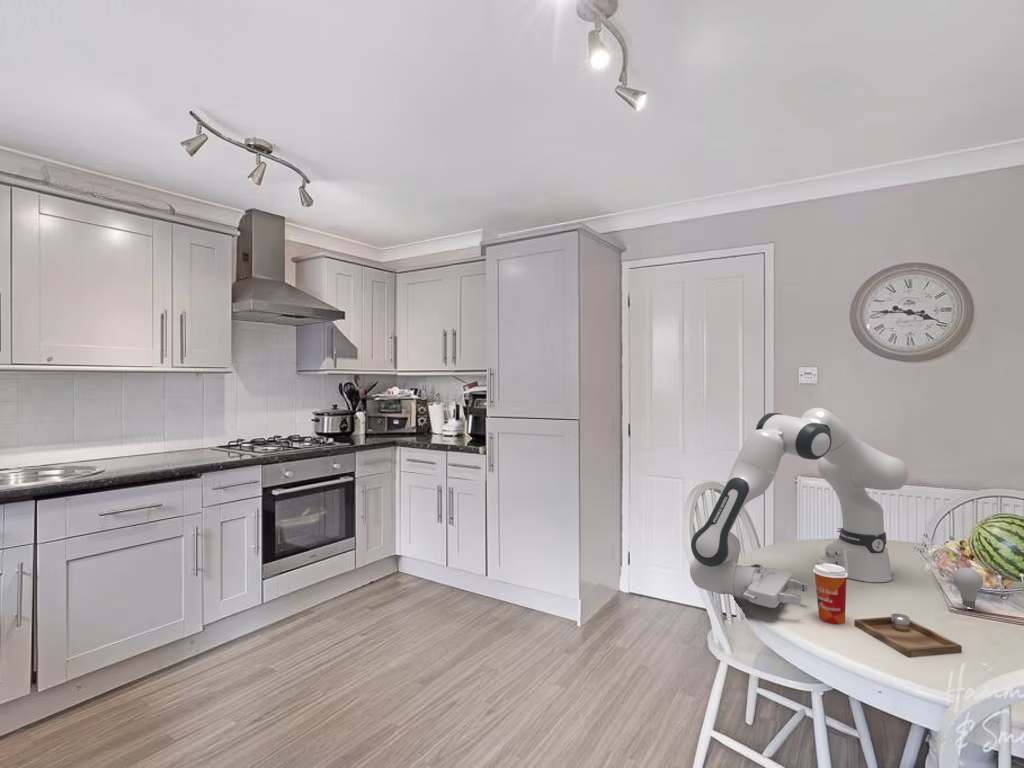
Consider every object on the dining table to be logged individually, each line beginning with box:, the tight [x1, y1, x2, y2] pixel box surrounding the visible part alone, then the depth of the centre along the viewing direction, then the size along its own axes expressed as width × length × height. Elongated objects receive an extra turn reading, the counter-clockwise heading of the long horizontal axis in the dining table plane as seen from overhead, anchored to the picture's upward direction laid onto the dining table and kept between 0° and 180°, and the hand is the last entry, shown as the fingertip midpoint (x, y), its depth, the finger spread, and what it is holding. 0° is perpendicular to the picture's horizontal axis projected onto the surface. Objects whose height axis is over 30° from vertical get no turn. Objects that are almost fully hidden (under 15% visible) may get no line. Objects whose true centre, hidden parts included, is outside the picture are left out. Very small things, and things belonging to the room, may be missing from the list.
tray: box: [853, 616, 963, 658], centre depth 126 cm, size 16×13×2 cm
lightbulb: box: [952, 566, 984, 609], centre depth 142 cm, size 6×6×11 cm
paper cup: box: [812, 563, 848, 626], centre depth 137 cm, size 8×8×14 cm
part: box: [890, 613, 911, 632], centre depth 130 cm, size 4×4×3 cm
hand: (804, 593), depth 141 cm, fingers open, 8 cm apart
